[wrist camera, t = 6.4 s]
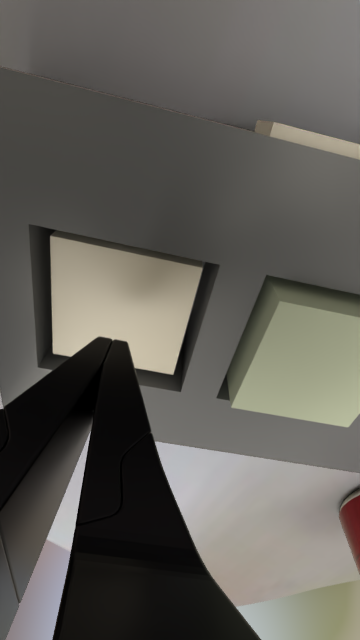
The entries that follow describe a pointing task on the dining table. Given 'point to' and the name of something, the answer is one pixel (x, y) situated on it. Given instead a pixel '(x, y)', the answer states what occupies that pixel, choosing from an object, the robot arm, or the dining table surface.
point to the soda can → (352, 524)
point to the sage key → (299, 354)
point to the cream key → (121, 298)
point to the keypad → (175, 243)
